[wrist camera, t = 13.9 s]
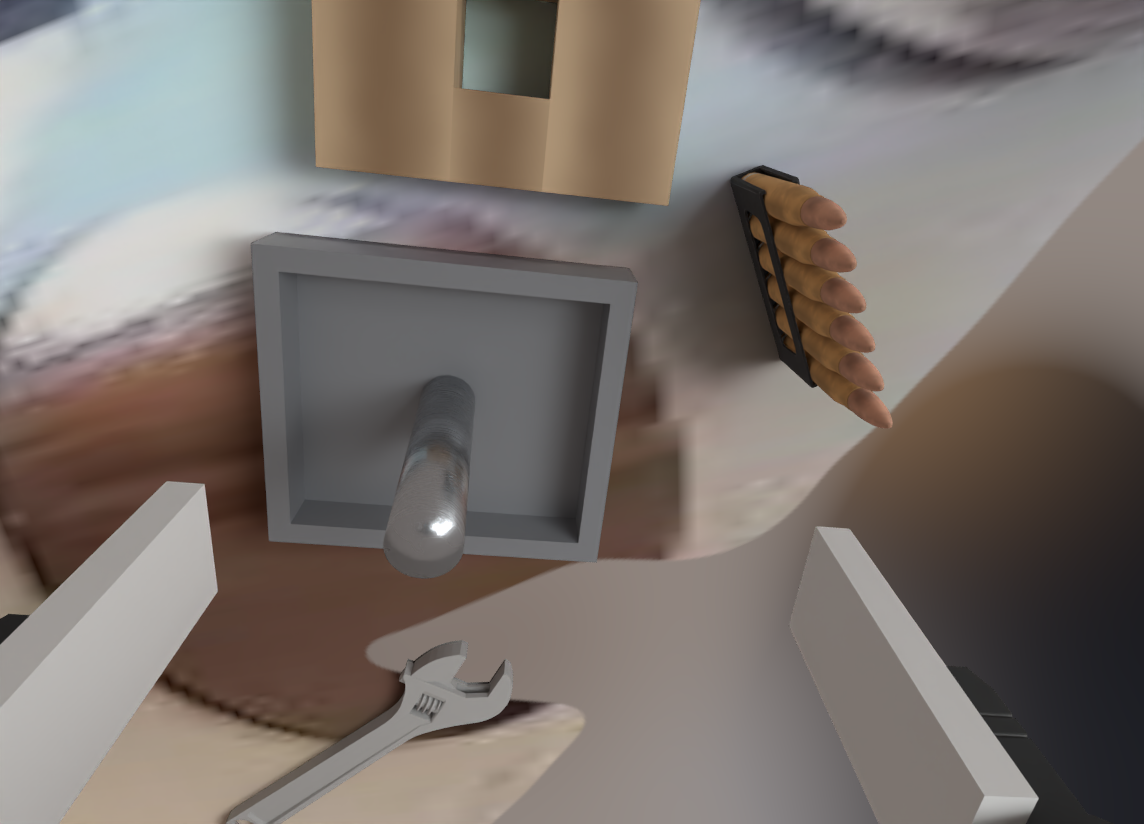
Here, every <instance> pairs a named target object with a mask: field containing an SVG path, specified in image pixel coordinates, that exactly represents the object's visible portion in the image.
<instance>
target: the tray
mask: <svg viewBox="0 0 1144 824" xmlns="http://www.w3.org/2000/svg"><path fill="white" fill-rule="evenodd" d="M251 253H252V270H253V286H254V303H255V319H256V336H257V352H258V368H259V385H260V401H261V418H262V434H263V451H264V467H265V484H266V500H267V517H268V533H269V541H275V542H290V543H306V544H321V545H337V546H352V547H367V548H383V540H384V536H385V532H386V528H387V524H388V521H389V517H390V513H391V509H392V505H393V501H394V498H395V494H396V490H397V486H398V482H399V478H400V475H401V471H402V467H403V463H404V459H405V455H406V452H407V448H408V444H409V440H410V436H411V432H412V429H413V425H414V421H415V417H416V413H417V409H418V406H419V402H420V398H421V394H422V391H423V389H424V387H425V386H426V385H427V383H429V382H430V381H431V380H433V379H434V378H437V377H440V376H455V377H458V378H460V379H462V380H464V381H465V382H466V383H467V384H469V386H470V387H471V388H472V390H473V392H474V395H475V412H474V425H473V438H472V450H471V463H470V476H469V488H468V501H467V514H466V526H465V539H464V550H463V554H475V555H490V556H506V557H521V558H536V559H552V560H567V561H582V562H597V556H598V549H599V542H600V536H601V529H602V522H603V515H604V508H605V502H606V495H607V488H608V481H609V475H610V468H611V461H612V454H613V448H614V441H615V434H616V427H617V421H618V414H619V407H620V400H621V393H622V387H623V380H624V373H625V366H626V360H627V353H628V346H629V339H630V333H631V326H632V319H633V312H634V305H635V299H636V292H637V285H638V282H637V280H636V279H635V277H634V275H633V274H632V272H631V271H630V269H629V268H621V267H612V266H602V265H592V264H582V263H573V262H563V261H553V260H543V259H534V258H524V257H514V256H504V255H495V254H485V253H475V252H465V251H456V250H446V249H436V248H426V247H417V246H407V245H397V244H387V243H378V242H368V241H358V240H348V239H339V238H329V237H319V236H309V235H300V234H290V233H280V232H275V233H273V234H271V235H268V236H266V237H264V238H262V239H260V240H258V241H255V242H253V243H251Z"/></svg>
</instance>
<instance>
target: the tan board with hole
mask: <svg viewBox="0 0 1144 824" xmlns="http://www.w3.org/2000/svg"><path fill="white" fill-rule="evenodd" d="M537 1H544V2H552V3H557V13H556V24H555V35H554V46H553V57H552V68H551V79H550V90H549V99H543V98H535V97H527V96H519V95H511V94H503V93H495V92H486V91H478V90H470V89H462V81H463V60H464V39H465V18H466V0H312V38H313V77H314V117H315V156H316V167H322V168H331V169H340V170H349V171H358V172H367V173H376V174H385V175H394V176H403V177H412V178H421V179H430V180H439V181H448V182H458V183H467V184H476V185H485V186H494V187H503V188H512V189H521V190H530V191H539V192H548V193H557V194H566V195H575V196H584V197H593V198H602V199H611V200H620V201H629V202H638V203H647V204H656V205H665V206H668V204H669V198H670V191H671V185H672V179H673V172H674V166H675V160H676V153H677V147H678V141H679V134H680V128H681V122H682V115H683V109H684V103H685V96H686V90H687V83H688V77H689V71H690V64H691V58H692V52H693V45H694V39H695V33H696V26H697V20H698V14H699V7H700V1H701V0H537Z"/></svg>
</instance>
